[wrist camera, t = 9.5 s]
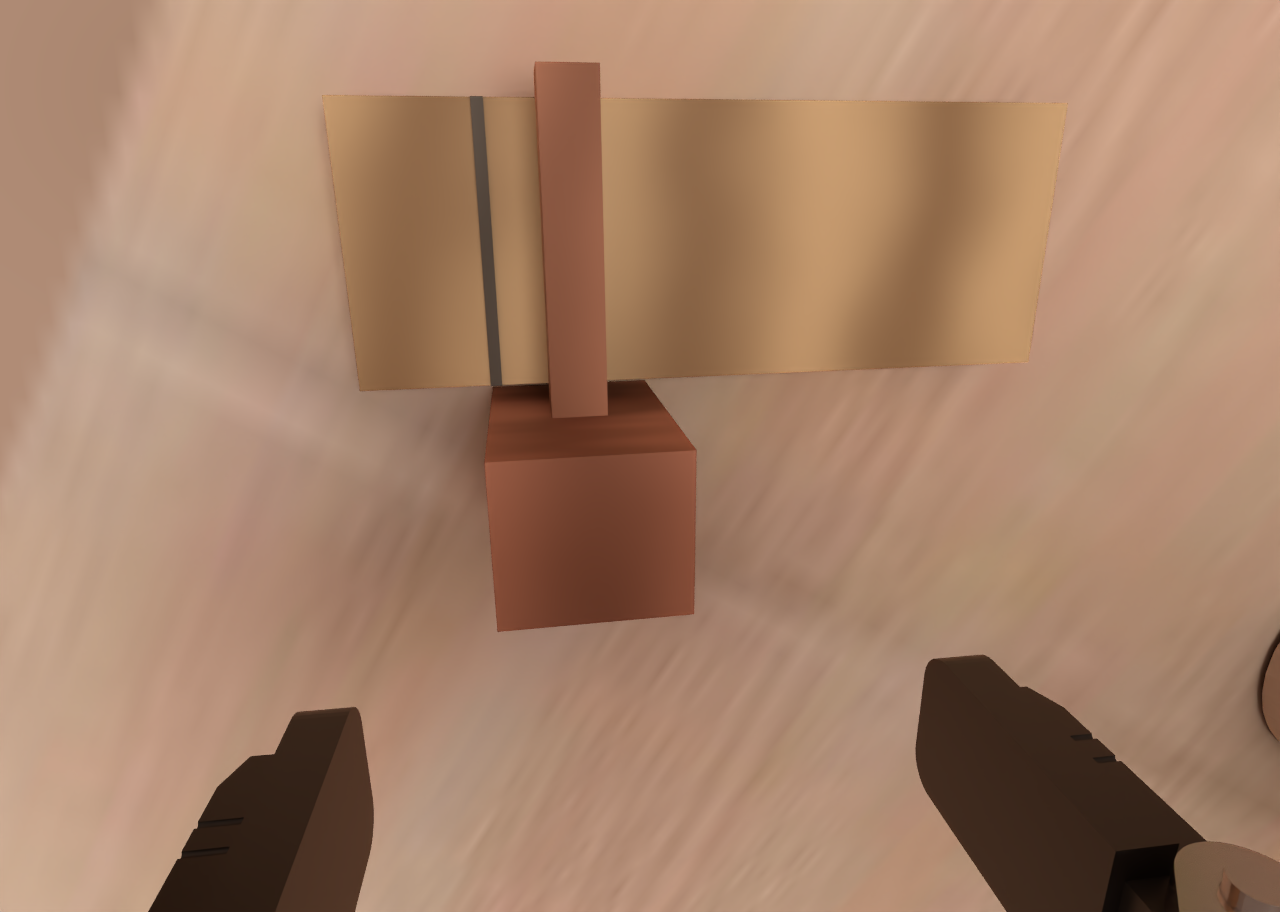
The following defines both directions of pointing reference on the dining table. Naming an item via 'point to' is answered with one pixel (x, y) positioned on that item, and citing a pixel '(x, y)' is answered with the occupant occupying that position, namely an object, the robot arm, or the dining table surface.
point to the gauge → (583, 420)
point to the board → (697, 235)
